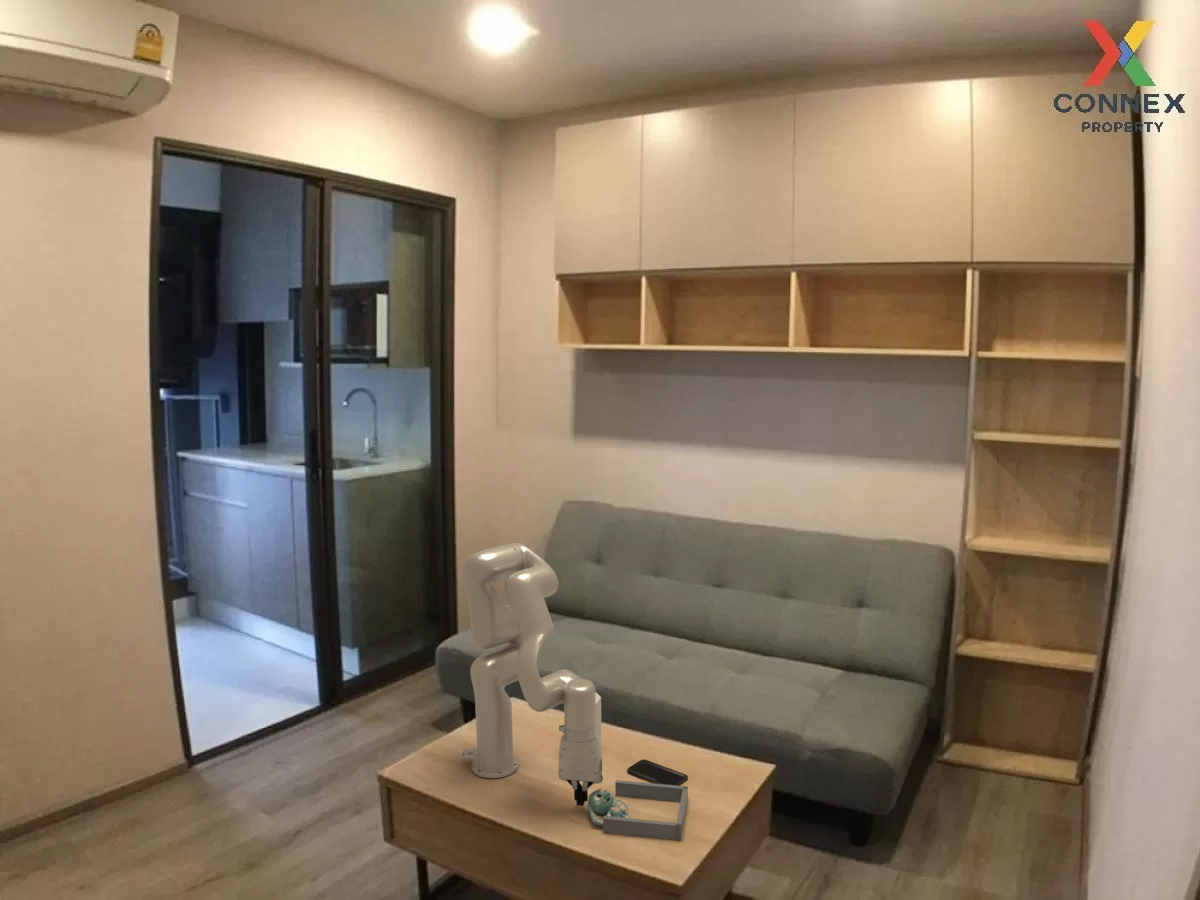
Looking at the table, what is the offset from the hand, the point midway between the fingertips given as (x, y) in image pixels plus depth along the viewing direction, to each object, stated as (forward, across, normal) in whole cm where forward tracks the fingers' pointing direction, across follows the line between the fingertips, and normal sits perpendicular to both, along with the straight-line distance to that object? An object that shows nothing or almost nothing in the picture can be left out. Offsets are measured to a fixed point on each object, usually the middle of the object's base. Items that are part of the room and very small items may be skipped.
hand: (581, 803), depth 210 cm
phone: (+2, +16, +19) cm, 25 cm away
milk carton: (+2, -5, +28) cm, 29 cm away
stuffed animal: (+2, +7, -3) cm, 8 cm away
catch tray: (+2, +16, 0) cm, 16 cm away
